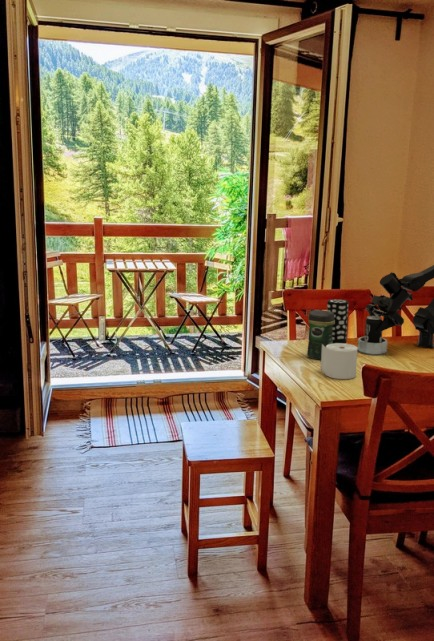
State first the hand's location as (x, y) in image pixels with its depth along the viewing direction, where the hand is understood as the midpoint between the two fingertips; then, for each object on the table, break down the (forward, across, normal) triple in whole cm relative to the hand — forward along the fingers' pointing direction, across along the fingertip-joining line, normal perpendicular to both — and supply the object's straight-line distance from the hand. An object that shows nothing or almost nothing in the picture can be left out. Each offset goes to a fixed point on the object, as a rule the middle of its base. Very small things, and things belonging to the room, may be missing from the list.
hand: (370, 330), depth 216 cm
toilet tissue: (+26, +21, -13) cm, 36 cm away
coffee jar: (+22, 0, -10) cm, 25 cm away
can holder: (+5, 0, +7) cm, 9 cm away
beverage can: (+4, 0, +6) cm, 7 cm away
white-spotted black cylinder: (+14, -8, -2) cm, 16 cm away
